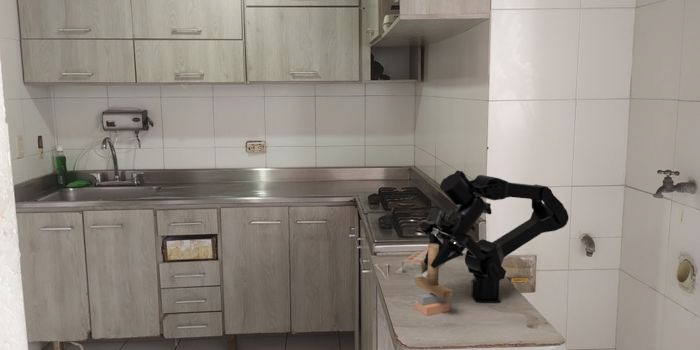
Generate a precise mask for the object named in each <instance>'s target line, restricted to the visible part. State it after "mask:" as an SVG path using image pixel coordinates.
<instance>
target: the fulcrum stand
mask: <svg viewBox="0 0 700 350" xmlns="http://www.w3.org/2000/svg"><path fill="white" fill-rule="evenodd" d="M414 310H415V311H418V312H419V313H421V314H422V315H425V316H426V317H427V316H432V315H437V314H442V313H445V312H450V311H451V303H450V302H449V301H447V298H445V299H443V298H441V297H439V296H437V295H435V294H433V293H431V292H429V293H424V294H419V295H418V300H415V301H414Z"/></svg>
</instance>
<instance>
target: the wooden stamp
mask: <svg viewBox="0 0 700 350" xmlns="http://www.w3.org/2000/svg"><path fill="white" fill-rule="evenodd" d="M427 249H428V277H427V278H425V277H415V278H414V284H415V285H416V286H418V287H420V288H422V289H424V290H425V291H428V292H429V293H433V294H435V295H437V296H439V297H441V298H443V299H445V298H446V299H449V298H452V296H453V291H452V290H451V289H450V288H447V287H445V286H443V285H442V284H439V269H440V268H439V266H437V267H435V268H433V267H432V266H431V264H432V262H433V260H434V259H435V257H436V256H437V254H438V253H439V244H434V243H431V244H430V243H428V244H427Z"/></svg>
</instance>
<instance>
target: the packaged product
mask: <svg viewBox="0 0 700 350" xmlns="http://www.w3.org/2000/svg"><path fill="white" fill-rule="evenodd" d="M427 251H428V248H426V249H425V248H423V249H420V250H418V251H416V252H414V253H413V254H412V255H410V256H408V257H407V258H405V259H403V260H402V261H401V267H400V268H399V269H397V270H395V274H396V275H403V276H409V277H415V278H417V277H425V278H427V279H428V265H426V264H425V263H424V260H425V257H426V254H427ZM444 264H445V263H443V264H441V265H439V269H440V268H441V267H442V266H443V265H444Z"/></svg>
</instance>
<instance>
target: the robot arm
mask: <svg viewBox="0 0 700 350" xmlns="http://www.w3.org/2000/svg"><path fill="white" fill-rule="evenodd" d="M439 189H440V190H441V191H442V193H444V195H445V196H446V197H447V198H448V200H450V202H451V203H452V204H454V205H455V206H458V207H457V208H456V209H455V210H452V209H447V210H446V211H444V210H441V209H438V208H435V207H431V209H430V211H429V213H428V216H427V218H426V219H427V220H425V221H422V223H421V224H420V225H419V227H418V229H420V230H421V232H422V233H423V234H424V235H425V236H426V237H427V238H428V239H429V244H431V243H434V244H439V253H438V254H437V256H436V257H435V259H434V260H433V262H432V264H431V266H432V267H433V268H435V267H437V266H439V265H441V264H443V263H444V264H445V263H447V262H449V261H451V260H453V259H456V258H458V257H460V256H461V257H463V256H464V255H465V256H464V263H465V266H466V267H467V270H468V272H469V273H470V274H472V275H473V276H472V279H471V280H470V295H471V297H472V298H473V300H474V302H476V303H501V299H500V281H501V280H505V277H506V274H507V270H506V269H505V268H504V267H503V266H502V265H503V261H504V259H505V257H507V256H509V255H510V254H512V253H513V252H515V251H516V250H518V249H519V248H521V247H522V246H524V245H526V244H527V243H529V242H531V241H532V240H534V239H535V238H536V237H539V236H540V235H541V234H543V233H549V232H556V231H557V230H558V231H559V230H560V229H563V228H564V227H566V225H567V224H568V221H569V213H568V210H567V209H566V208H565V206H564V204H563V203H562V202H561V200H559V199H558V198H557V196H555V195H554V193H553V191H552V190H551V188H550V187H549V186H546V185H542V184H541V185H540V184H529V183H528V184H525V183H517V182H510V181H507V180H505V179H502V178H499V177H494V176H489V175H485V174H479V175H476V177H475V178H474V179H471V180H469V179H468V177H467V176H466V174H465V172H464V171H463V170H456V171H455V172H454V173H451V174H449V175H448V176H447V177H445V178H443V180H442V181H441V183H440V186H439ZM507 198H516V199H517V198H518V199H526V200H527V199H528V200H531V209H532V210H533V211H532V212H531V216H530V218H528V220H527V219H526V221H524V222H523V223H521V224H519V225H518V226H516V227H515V228H513V229H511V230H510V231H508V232H507V233H505V234H503V235H502V236H500V237H499V238H497V239H496V240H493V241H489V240H486V239H483V238H482V239H479V240H478V241H476V240H475V239H474V238H473V236H472V235H469V234H468V233H469V232H470V231H471V232H475V230H476V227H475V224H476V222H478V220H479V219H480V218H481V216H482V215H483V214H485V215H486V214H487V215H492V214H493V213H492V208H491V206H492V205H491V203H489V202H485V201H484V199H487V200H491V201H500V200H505V199H507ZM431 221H433V222H431ZM436 223H437V225H436ZM465 249H466V252H465V254H464V253H463V252H464V251H465ZM424 263H425V264H426V265H428V251H427V254H426V257H425V260H424ZM444 264H443V265H444Z"/></svg>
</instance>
